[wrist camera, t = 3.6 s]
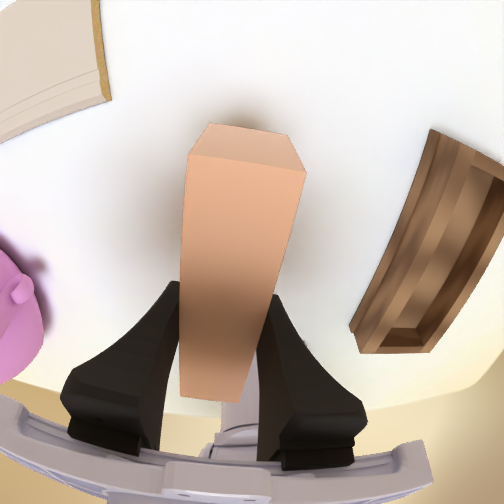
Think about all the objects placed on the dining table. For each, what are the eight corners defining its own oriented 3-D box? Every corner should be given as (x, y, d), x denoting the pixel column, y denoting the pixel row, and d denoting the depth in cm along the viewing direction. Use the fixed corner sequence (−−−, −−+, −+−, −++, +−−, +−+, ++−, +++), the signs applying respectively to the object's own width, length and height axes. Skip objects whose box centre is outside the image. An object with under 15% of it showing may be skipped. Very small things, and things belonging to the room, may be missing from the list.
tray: (419, 328, 28) (431, 352, 26) (348, 325, 28) (357, 353, 25) (502, 165, 18) (528, 181, 15) (430, 128, 17) (458, 141, 14)
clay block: (240, 340, 21) (238, 403, 17) (190, 334, 20) (180, 396, 16) (287, 135, 13) (306, 172, 9) (209, 122, 12) (188, 154, 8)
